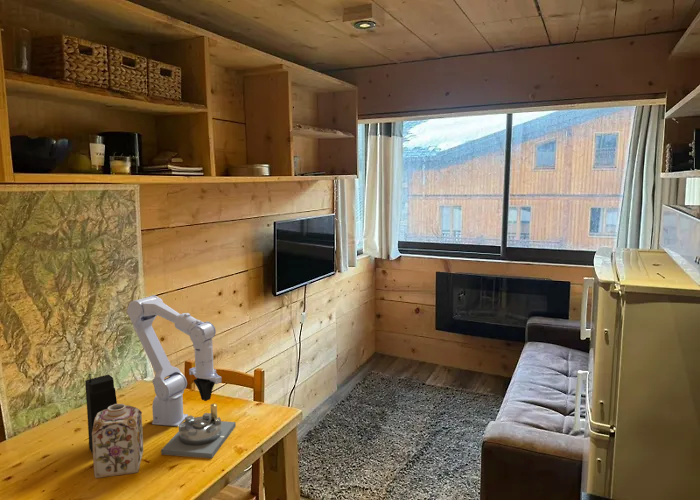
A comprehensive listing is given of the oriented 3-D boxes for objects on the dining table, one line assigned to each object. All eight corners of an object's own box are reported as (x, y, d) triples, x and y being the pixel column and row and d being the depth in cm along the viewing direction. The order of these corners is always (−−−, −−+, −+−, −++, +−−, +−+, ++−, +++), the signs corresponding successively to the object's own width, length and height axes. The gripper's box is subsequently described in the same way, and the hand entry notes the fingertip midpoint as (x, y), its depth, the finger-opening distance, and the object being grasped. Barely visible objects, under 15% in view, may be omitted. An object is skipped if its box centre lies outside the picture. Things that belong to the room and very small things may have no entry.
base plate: (161, 454, 152) (161, 449, 152) (190, 423, 172) (190, 418, 172) (212, 458, 150) (211, 453, 150) (235, 426, 170) (235, 421, 170)
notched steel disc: (195, 449, 152) (194, 424, 151) (170, 436, 160) (169, 412, 159) (229, 432, 162) (229, 409, 161) (204, 421, 170) (203, 398, 169)
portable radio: (114, 440, 161) (110, 364, 157) (121, 447, 156) (117, 370, 153) (88, 449, 155) (82, 371, 152) (94, 456, 151) (89, 377, 148)
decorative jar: (93, 479, 140) (89, 418, 137) (102, 457, 151) (98, 400, 148) (139, 473, 143) (136, 413, 140) (144, 452, 154) (141, 395, 151)
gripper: (228, 360, 164) (229, 400, 165) (200, 352, 172) (202, 390, 174) (210, 367, 158) (212, 408, 160) (182, 358, 167) (185, 397, 169)
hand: (206, 399), depth 167 cm, fingers closed
